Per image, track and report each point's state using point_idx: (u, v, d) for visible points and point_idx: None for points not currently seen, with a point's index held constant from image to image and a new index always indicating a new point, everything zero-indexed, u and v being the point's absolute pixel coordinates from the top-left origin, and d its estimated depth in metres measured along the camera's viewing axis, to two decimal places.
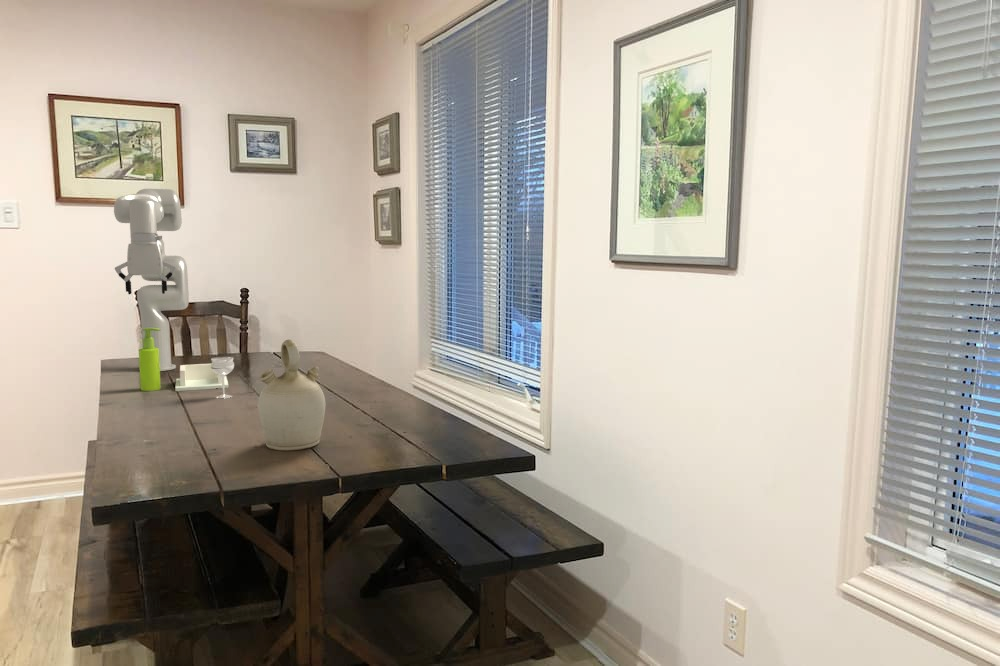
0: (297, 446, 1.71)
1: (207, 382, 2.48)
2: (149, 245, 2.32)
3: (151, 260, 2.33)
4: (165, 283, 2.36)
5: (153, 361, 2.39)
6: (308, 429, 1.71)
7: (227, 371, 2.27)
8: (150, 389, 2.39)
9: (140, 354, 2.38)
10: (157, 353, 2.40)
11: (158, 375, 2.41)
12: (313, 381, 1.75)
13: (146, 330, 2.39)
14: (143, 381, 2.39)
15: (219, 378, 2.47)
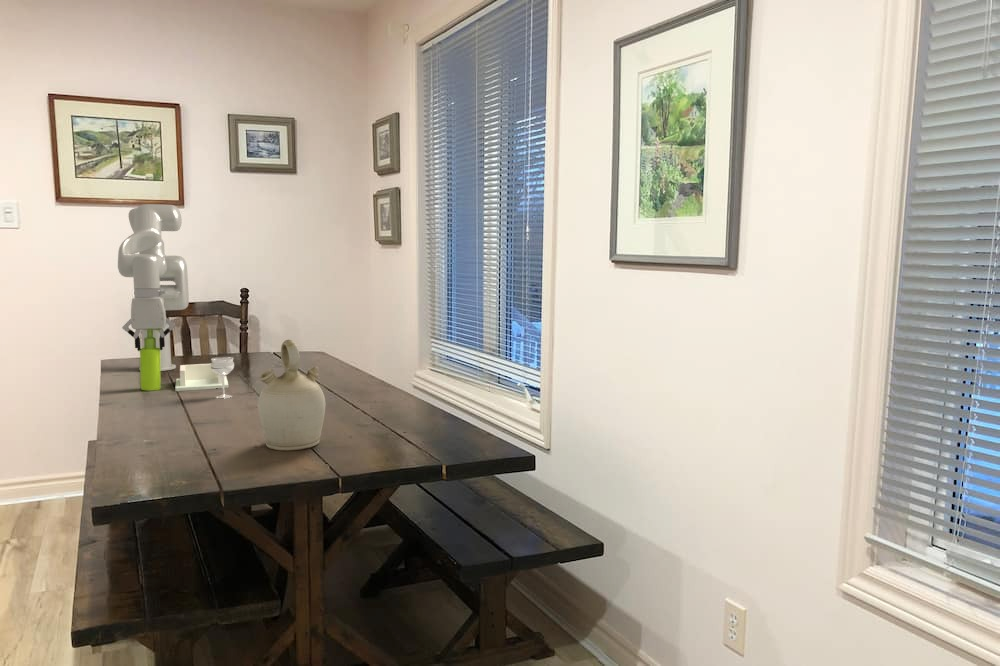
0: (297, 446, 1.71)
1: (207, 382, 2.48)
2: (152, 300, 2.36)
3: (154, 315, 2.37)
4: (163, 339, 2.40)
5: (155, 361, 2.39)
6: (308, 429, 1.71)
7: (227, 371, 2.27)
8: (150, 389, 2.39)
9: (141, 353, 2.38)
10: (158, 353, 2.40)
11: (159, 375, 2.41)
12: (313, 381, 1.75)
13: (148, 330, 2.39)
14: (143, 380, 2.39)
15: (219, 378, 2.47)
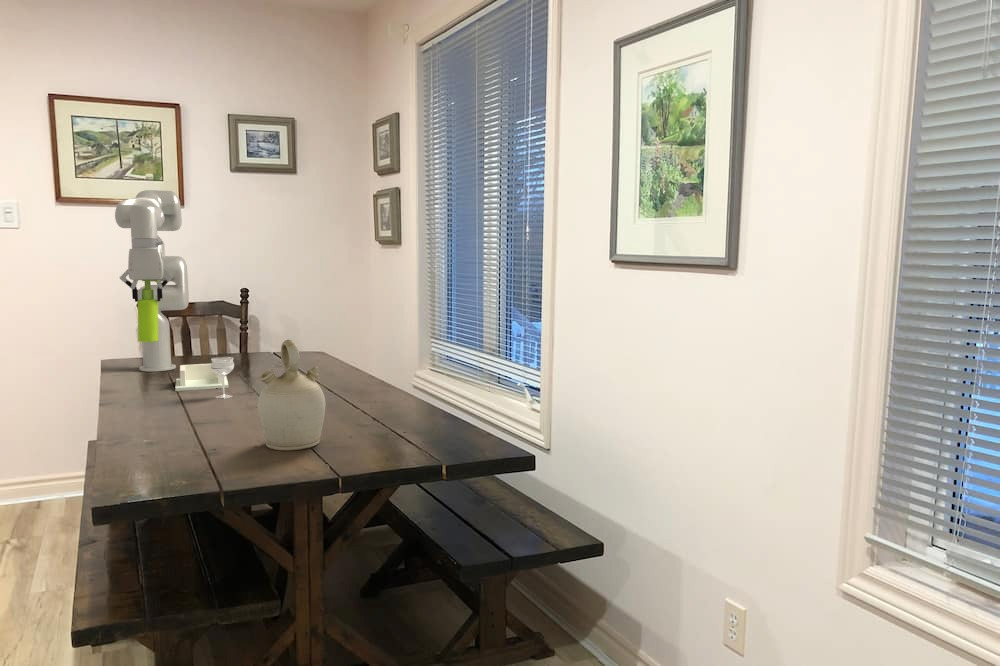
0: (297, 446, 1.71)
1: (207, 382, 2.48)
2: (150, 250, 2.35)
3: (152, 265, 2.35)
4: (160, 291, 2.39)
5: (152, 312, 2.38)
6: (308, 429, 1.71)
7: (227, 371, 2.27)
8: (148, 340, 2.38)
9: (139, 304, 2.37)
10: (156, 304, 2.39)
11: (156, 327, 2.40)
12: (313, 381, 1.75)
13: (146, 281, 2.37)
14: (141, 331, 2.37)
15: (219, 378, 2.47)
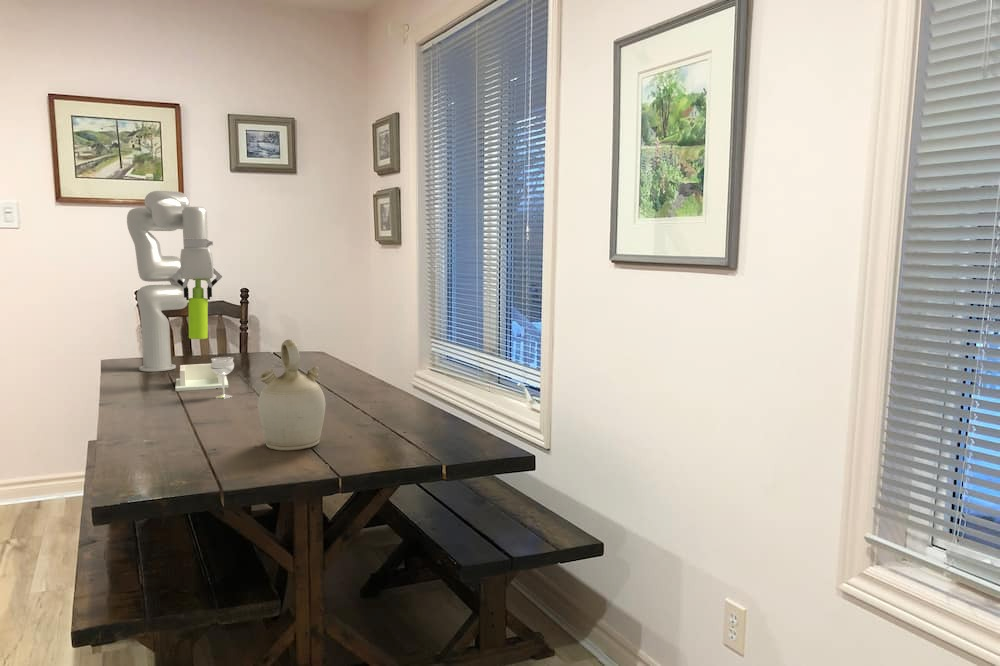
0: (297, 446, 1.71)
1: (207, 382, 2.48)
2: (201, 250, 2.43)
3: (203, 265, 2.44)
4: (210, 289, 2.47)
5: (203, 310, 2.46)
6: (308, 429, 1.71)
7: (227, 371, 2.27)
8: (198, 337, 2.46)
9: (190, 303, 2.45)
10: (206, 302, 2.47)
11: (206, 324, 2.48)
12: (313, 381, 1.75)
13: (197, 280, 2.46)
14: (192, 329, 2.45)
15: (219, 378, 2.47)
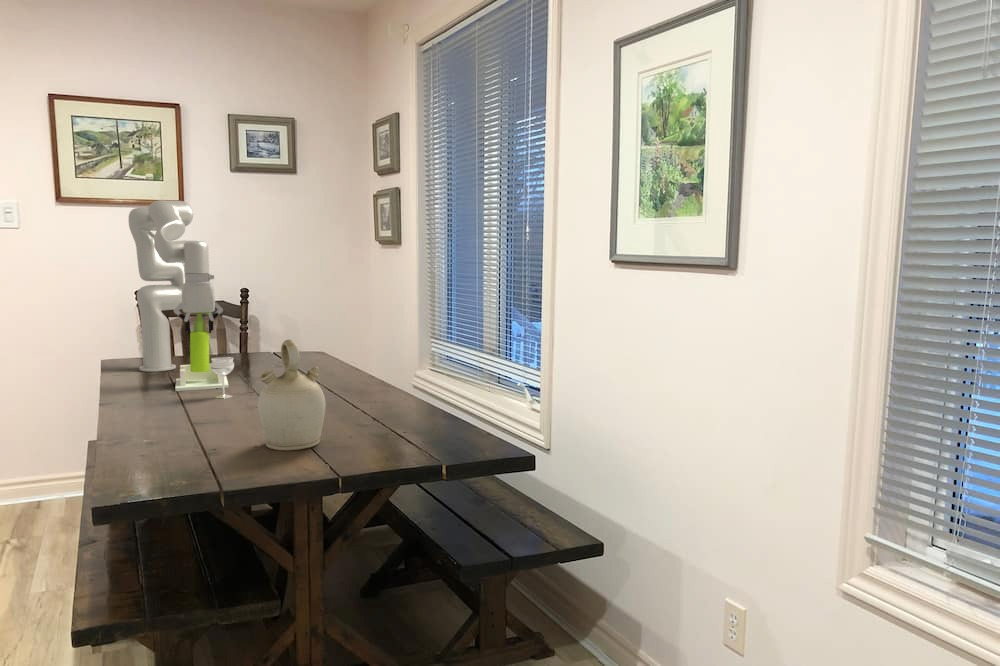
0: (297, 446, 1.71)
1: (207, 382, 2.48)
2: (202, 285, 2.44)
3: (204, 299, 2.45)
4: (212, 323, 2.48)
5: (204, 344, 2.47)
6: (308, 429, 1.71)
7: (227, 371, 2.27)
8: (200, 371, 2.47)
9: (191, 336, 2.46)
10: (207, 336, 2.48)
11: (208, 357, 2.49)
12: (313, 381, 1.75)
13: (198, 313, 2.47)
14: (193, 362, 2.47)
15: (219, 378, 2.47)
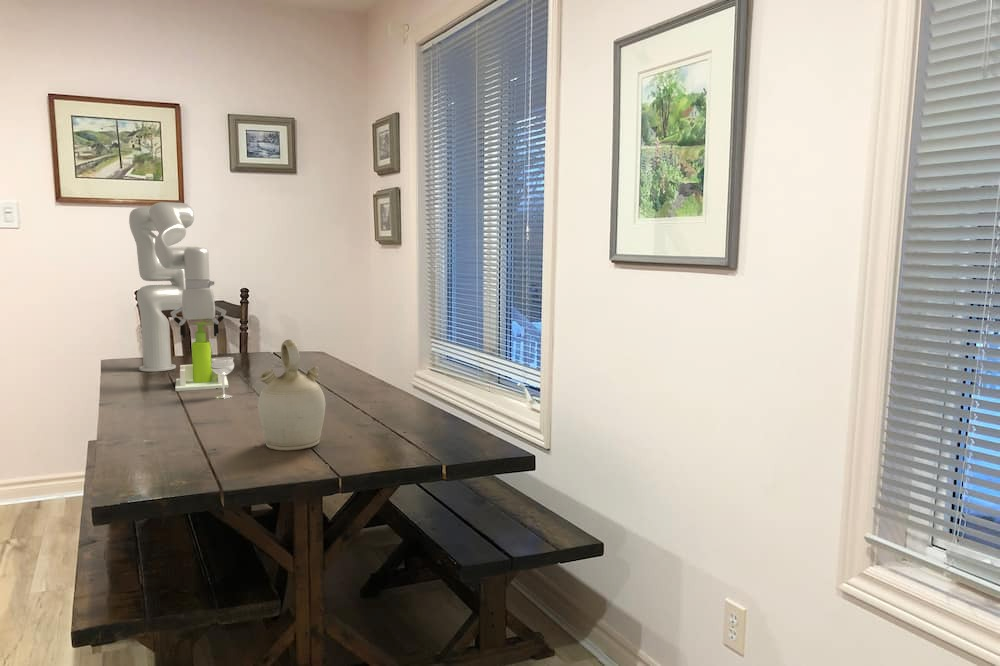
0: (297, 446, 1.71)
1: (207, 382, 2.48)
2: (203, 291, 2.45)
3: (204, 305, 2.45)
4: (217, 326, 2.49)
5: (206, 354, 2.48)
6: (308, 429, 1.71)
7: (227, 371, 2.27)
8: (202, 381, 2.48)
9: (193, 347, 2.47)
10: (209, 346, 2.49)
11: (210, 368, 2.50)
12: (313, 381, 1.75)
13: (199, 324, 2.47)
14: (196, 373, 2.47)
15: (219, 378, 2.47)
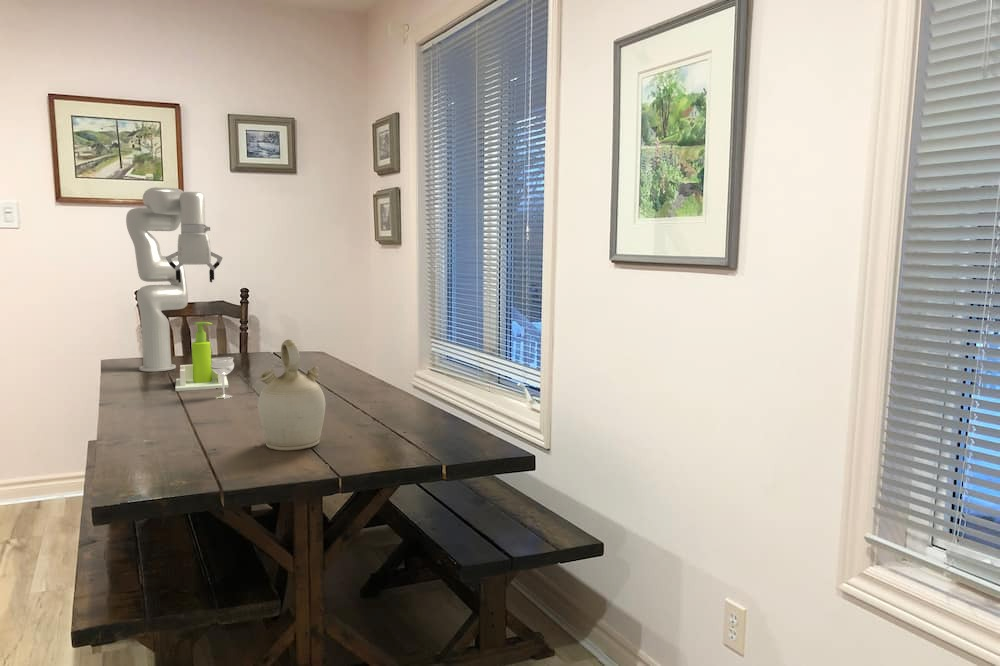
0: (297, 446, 1.71)
1: (207, 382, 2.48)
2: (198, 236, 2.43)
3: (200, 250, 2.44)
4: (213, 272, 2.48)
5: (206, 354, 2.48)
6: (308, 429, 1.71)
7: (227, 371, 2.27)
8: (202, 381, 2.48)
9: (193, 347, 2.47)
10: (209, 346, 2.49)
11: (210, 368, 2.50)
12: (313, 381, 1.75)
13: (199, 324, 2.47)
14: (196, 373, 2.47)
15: (219, 378, 2.47)
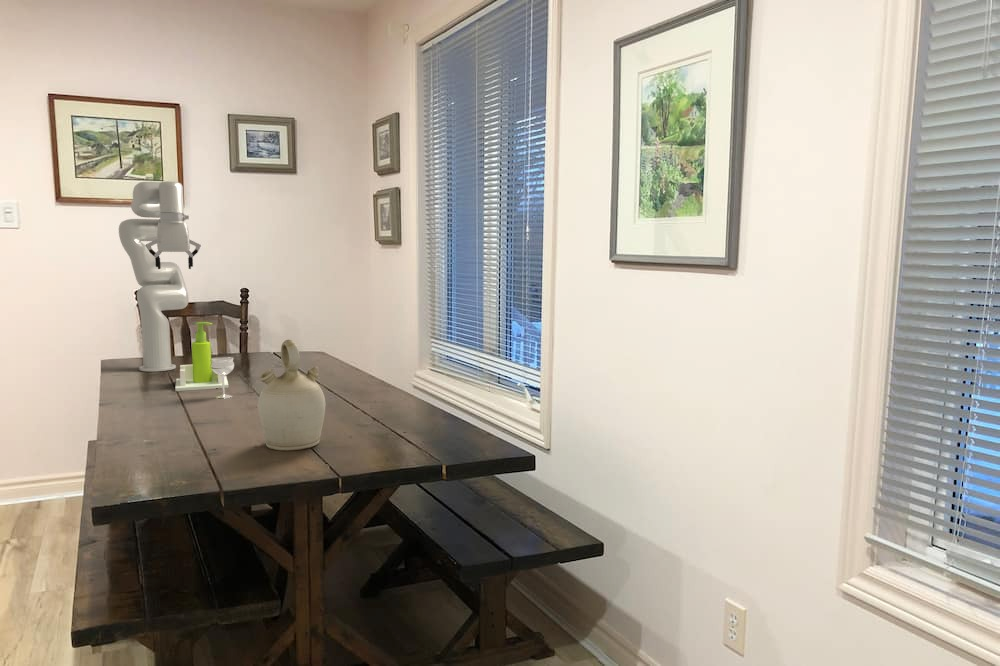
0: (297, 446, 1.71)
1: (207, 382, 2.48)
2: (177, 224, 2.52)
3: (179, 238, 2.53)
4: (191, 259, 2.57)
5: (206, 354, 2.48)
6: (308, 429, 1.71)
7: (227, 371, 2.27)
8: (202, 381, 2.48)
9: (193, 347, 2.47)
10: (209, 346, 2.49)
11: (210, 368, 2.50)
12: (313, 381, 1.75)
13: (199, 324, 2.47)
14: (196, 373, 2.47)
15: (219, 378, 2.47)
